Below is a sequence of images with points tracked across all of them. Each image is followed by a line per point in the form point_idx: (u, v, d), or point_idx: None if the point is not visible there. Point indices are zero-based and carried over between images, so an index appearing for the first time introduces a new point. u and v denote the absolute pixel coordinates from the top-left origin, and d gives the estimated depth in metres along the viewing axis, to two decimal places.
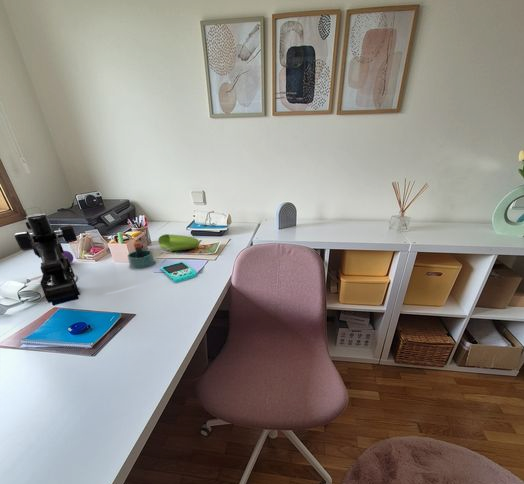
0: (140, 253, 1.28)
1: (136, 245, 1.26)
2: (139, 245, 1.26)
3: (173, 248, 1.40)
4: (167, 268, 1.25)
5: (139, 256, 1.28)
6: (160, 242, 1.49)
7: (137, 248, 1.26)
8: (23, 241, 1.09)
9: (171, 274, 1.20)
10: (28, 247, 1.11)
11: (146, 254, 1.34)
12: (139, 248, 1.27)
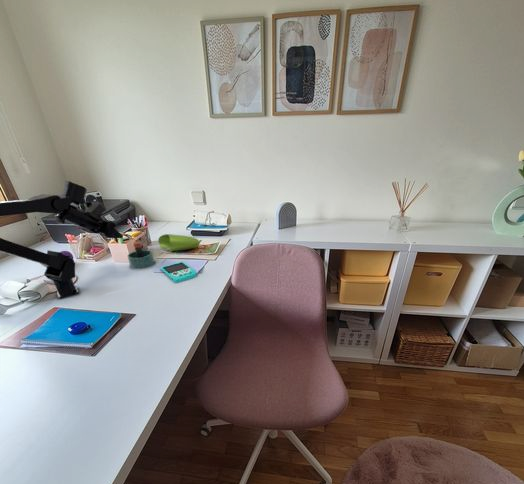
0: (140, 253, 1.28)
1: (136, 245, 1.26)
2: (139, 245, 1.26)
3: (173, 248, 1.40)
4: (167, 268, 1.25)
5: (139, 256, 1.28)
6: (160, 242, 1.49)
7: (137, 248, 1.26)
8: None
9: (171, 274, 1.20)
10: None
11: (146, 254, 1.34)
12: (139, 248, 1.27)
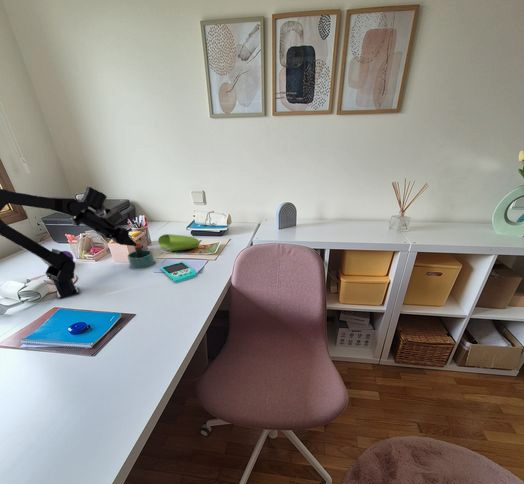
0: (140, 253, 1.28)
1: (136, 245, 1.26)
2: (139, 245, 1.26)
3: (173, 248, 1.40)
4: (167, 268, 1.25)
5: (139, 256, 1.28)
6: (160, 242, 1.49)
7: (137, 248, 1.26)
8: None
9: (171, 274, 1.20)
10: None
11: (146, 254, 1.34)
12: (139, 248, 1.27)
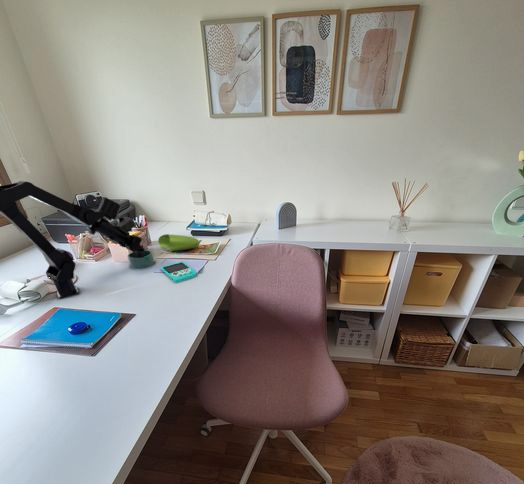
0: (140, 253, 1.28)
1: None
2: None
3: (173, 248, 1.40)
4: (167, 268, 1.25)
5: (139, 256, 1.28)
6: (160, 242, 1.49)
7: None
8: None
9: (171, 274, 1.20)
10: None
11: (146, 254, 1.34)
12: None
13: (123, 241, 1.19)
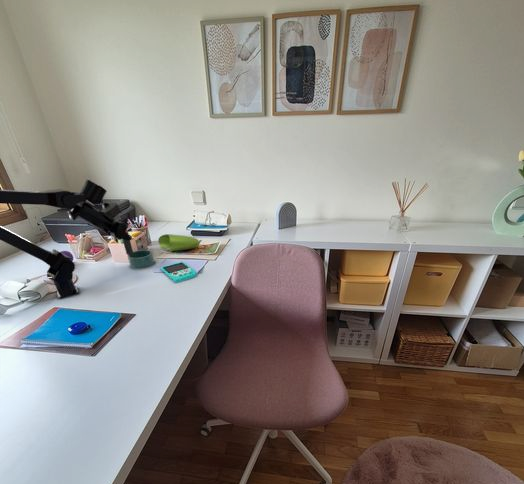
0: (127, 242, 1.20)
1: None
2: None
3: (173, 248, 1.40)
4: (167, 268, 1.25)
5: (126, 245, 1.20)
6: (160, 242, 1.49)
7: None
8: None
9: (171, 274, 1.20)
10: None
11: (146, 254, 1.34)
12: None
13: (108, 228, 1.11)
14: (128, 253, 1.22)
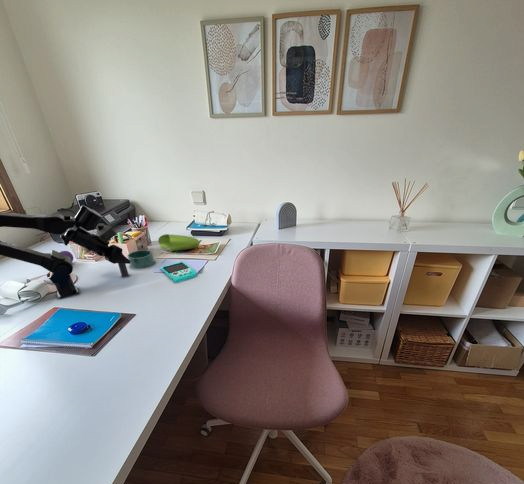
0: (122, 265, 1.18)
1: None
2: None
3: (173, 248, 1.40)
4: (167, 268, 1.25)
5: (121, 268, 1.19)
6: (160, 242, 1.49)
7: None
8: None
9: (171, 274, 1.20)
10: None
11: (146, 254, 1.34)
12: None
13: (102, 251, 1.10)
14: (123, 276, 1.21)
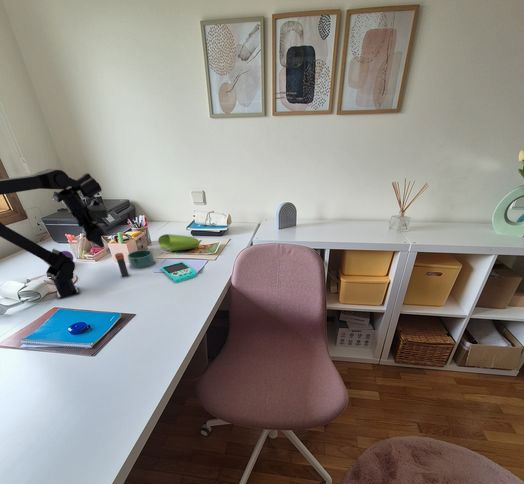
0: (122, 265, 1.18)
1: (118, 257, 1.16)
2: (121, 257, 1.17)
3: (173, 248, 1.40)
4: (167, 268, 1.25)
5: (121, 268, 1.19)
6: (160, 242, 1.49)
7: (119, 260, 1.17)
8: None
9: (171, 274, 1.20)
10: None
11: (146, 254, 1.34)
12: (121, 260, 1.17)
13: (84, 224, 1.08)
14: (123, 276, 1.21)
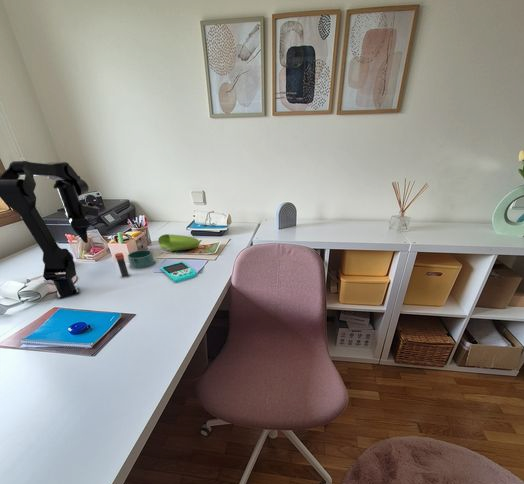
0: (122, 265, 1.18)
1: (118, 257, 1.16)
2: (121, 257, 1.17)
3: (173, 248, 1.40)
4: (167, 268, 1.25)
5: (121, 268, 1.19)
6: (160, 242, 1.49)
7: (119, 260, 1.17)
8: None
9: (171, 274, 1.20)
10: None
11: (146, 254, 1.34)
12: (121, 260, 1.17)
13: (73, 216, 1.14)
14: (123, 276, 1.21)
